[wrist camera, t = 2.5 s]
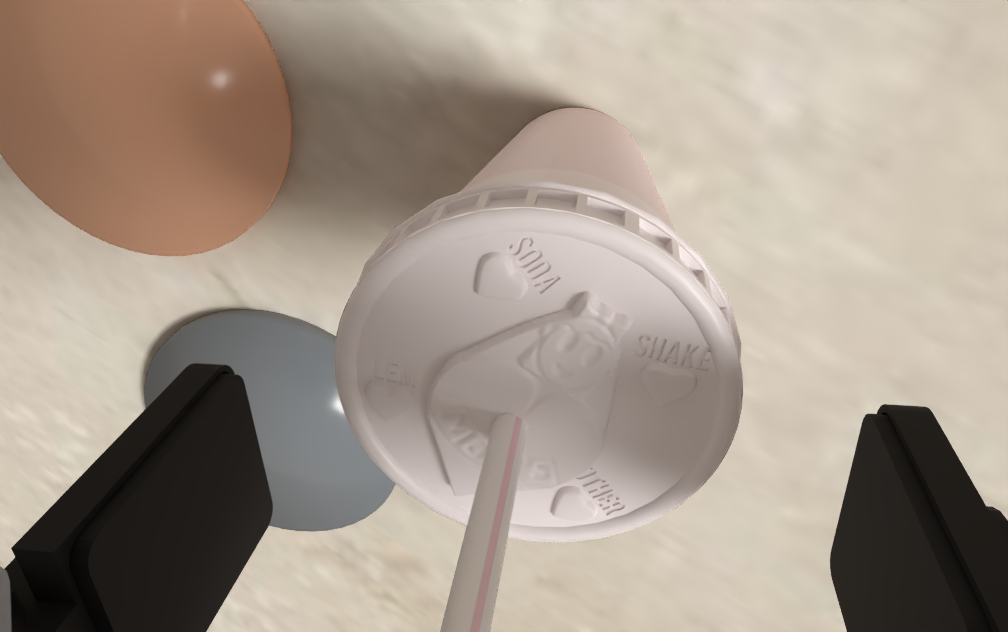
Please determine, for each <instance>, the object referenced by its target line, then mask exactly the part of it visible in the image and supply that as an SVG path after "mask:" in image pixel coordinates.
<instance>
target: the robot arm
mask: <svg viewBox="0 0 1008 632" xmlns="http://www.w3.org/2000/svg"><path fill="white" fill-rule="evenodd" d="M272 512H273V502H272V497H271V493H270V489H269V485H268V480H267V476H266V472H265V468H264V463H263V459H262V455H261V451H260V446H259V442H258V438H257V434H256V430H255V425H254V421H253V417H252V413H251V408H250V404H249V400H248V396H247V391H246V387H245V383H244V380H243V378H242V377H241V376H240V375H236V374H235V373H234V371H233V369H232V368H231V367H230V366H228V365H220V364H203V363H193V364H190V365H189V366H187V367H186V368H185V369H184V370H183V371H182V372H181V373H180V374H179V375H178V376H177V377H176V378H175V379H174V380H173V381H172V382H171V383H170V385H169V386H168V387H167V388H166V389H165V390H164V391H163V392H162V393H161V394H160V395H159V396H158V397H157V398H156V399H155V400H154V401H153V402H152V403H151V404H150V405H149V406H148V407H147V408H146V409H145V410H144V411H143V412H142V414H141V415H140V416H139V417H138V418H137V419H136V420H135V421H134V422H133V423H132V424H131V425H130V426H129V427H128V428H127V429H126V430H125V431H124V432H123V433H122V434H121V435H120V436H119V437H118V438H117V439H116V440H115V441H114V443H113V444H112V445H111V446H110V447H109V448H108V449H107V450H106V451H105V452H104V453H103V454H102V455H101V456H100V457H99V458H98V459H97V460H96V461H95V462H94V463H93V464H92V465H91V466H90V467H89V468H88V469H87V470H86V472H85V473H84V474H83V475H82V476H81V477H80V478H79V479H78V480H77V481H76V482H75V483H74V484H73V485H72V486H71V487H70V488H69V489H68V490H67V491H66V492H65V493H64V494H63V495H62V496H61V497H60V498H59V499H58V500H57V502H56V503H55V504H54V505H53V506H52V507H51V508H50V509H49V510H48V511H47V512H46V513H45V514H44V515H43V516H42V517H41V518H40V519H39V520H38V521H37V522H36V523H35V524H34V525H33V526H32V527H31V528H30V529H29V531H28V532H27V533H26V534H25V535H24V536H23V537H22V538H21V539H20V540H19V541H18V542H17V543H16V544H15V545H14V546H13V547H12V548H11V549H12V551H13V553H14V555H15V558H14V560H13V561H12V562H11V563H10V564H9V565H8V566H7V567H6V568H5V569H3V568H2V567H0V632H206V631H207V629H208V628H209V626H210V624H211V622H212V621H213V619H214V617H215V616H216V614H217V612H218V611H219V609H220V607H221V606H222V604H223V602H224V600H225V599H226V597H227V595H228V594H229V592H230V590H231V589H232V587H233V585H234V583H235V582H236V580H237V578H238V577H239V575H240V573H241V572H242V570H243V568H244V567H245V565H246V563H247V561H248V560H249V558H250V556H251V555H252V553H253V551H254V550H255V548H256V546H257V544H258V543H259V541H260V539H261V538H262V536H263V534H264V533H265V531H266V529H267V528H268V526H269V524H270V521H271V518H272ZM830 569H831V576H832V580H833V584H834V587H835V591H836V594H837V598H838V601H839V605H840V608H841V612H842V615H843V619H844V622H845V626H846V629H847V632H1008V521H1007V519H1006V518H1005V517H1004V515H1003V514H1002V513H1001V512H1000V511H999V510H997V509H995V508H994V507H988V506H986V505H985V504H984V502H983V500H982V498H981V497H980V495H979V493H978V491H977V490H976V488H975V486H974V484H973V483H972V481H971V479H970V477H969V476H968V474H967V472H966V470H965V469H964V467H963V465H962V463H961V462H960V460H959V458H958V456H957V455H956V453H955V451H954V449H953V448H952V446H951V444H950V442H949V441H948V439H947V437H946V435H945V434H944V432H943V430H942V428H941V427H940V425H939V423H938V421H937V420H936V418H935V416H934V415H933V413H932V412H931V410H930V409H929V408H927V407H920V406H903V405H886V404H884V405H882V406H881V407H880V408H879V410H878V412H877V414H867V415H865V417H864V419H863V422H862V426H861V430H860V434H859V438H858V442H857V446H856V451H855V455H854V459H853V463H852V467H851V471H850V475H849V479H848V484H847V488H846V492H845V496H844V500H843V504H842V508H841V512H840V517H839V521H838V525H837V529H836V533H835V537H834V541H833V546H832V550H831V556H830Z"/></svg>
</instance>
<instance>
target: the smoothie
mask: <svg viewBox="0 0 1008 632" xmlns="http://www.w3.org/2000/svg"><path fill="white" fill-rule="evenodd" d="M740 356H741V341H740V337H739V333H738V330H737V326H736V322H735V318H734V315H733V311H732V307H731V303H730V300H729V297H728V295H727V294H726V292H725V291H724V289H723V288H722V286H721V284H720V283H719V281H718V280H717V278H716V277H715V275H714V273H713V272H712V270H711V269H710V267H709V266H708V264H707V263H706V261H705V259H704V258H703V256H702V255H701V253H699V252H698V251H697V250H696V249H695V248H694V247H692V246H691V245H690V244H689V243H688V242H687V241H686V240H684V239H683V238H682V237H681V236H680V235H679V234H678V233H676V231H675V229H674V227H673V224H672V222H671V220H670V217H669V215H668V213H667V211H666V208H665V206H664V204H663V201H662V199H661V197H660V195H659V192H658V190H657V188H656V185H655V183H654V181H653V179H652V176H651V174H650V172H649V169H648V167H647V165H646V163H645V160H644V158H643V156H642V153H641V151H640V149H639V147H638V145H637V143H636V141H635V140H634V138H633V137H632V135H631V134H630V133H629V132H628V131H627V129H625V128H624V127H623V126H622V125H621V124H620V123H619V122H617V121H616V120H614V119H613V118H611V117H609V116H607V115H605V114H603V113H601V112H598V111H595V110H591V109H586V108H563V109H558V110H553V111H551V112H548V113H545V114H543V115H541V116H539V117H537V118H536V119H534V120H533V121H531V122H530V123H529V124H527V125H526V126H525V127H524V128H523V129H522V130H521V131H520V132H519V133H518V134H517V135H516V136H515V137H514V138H513V139H512V140H511V141H510V142H509V143H508V144H507V145H506V146H505V147H504V148H503V149H502V150H501V151H500V152H499V153H498V154H497V155H496V156H495V157H494V158H493V159H492V160H491V161H490V162H489V163H488V164H487V165H486V166H485V167H484V168H483V169H482V170H481V171H480V172H479V173H478V174H477V175H476V176H475V177H474V178H473V179H472V180H471V181H470V182H469V183H468V184H467V185H466V186H465V187H464V188H463V189H462V190H461V191H460V192H459V193H456V194H452V195H449V196H446V197H443V198H440V199H437V200H436V201H434V202H433V203H431V204H430V205H428V206H427V207H425V208H424V209H422V210H421V211H419V212H418V213H416V214H415V215H413V216H412V217H410V218H408V219H407V220H405V221H404V222H402V223H401V224H399V225H398V226H396V227H395V228H394V229H393V231H392V232H391V233H390V234H389V236H388V237H387V238H386V239H385V240H384V242H383V243H382V244H381V245H380V246H379V248H378V249H377V250H376V251H375V253H374V254H373V255H372V256H371V257H370V259H369V260H368V261H367V262H366V264H365V266H364V269H363V271H362V274H361V276H360V279H359V281H358V284H357V286H356V287H355V289H354V290H353V292H352V294H351V296H350V298H349V300H348V302H347V304H346V306H345V308H344V311H343V314H342V317H341V319H340V322H339V326H338V331H337V335H336V341H335V351H334V371H335V379H336V386H337V390H338V394H339V398H340V402H341V405H342V408H343V410H344V413H345V416H346V418H347V420H348V422H349V424H350V427H351V429H352V431H353V432H354V434H355V436H356V437H357V439H358V441H359V442H360V444H361V446H362V447H363V448H364V450H365V451H366V452H367V454H368V455H369V456H370V458H371V459H372V460H373V461H374V462H375V464H376V465H377V466H378V467H379V468H380V469H381V470H382V472H384V473H385V474H386V475H387V476H388V477H389V478H390V479H391V480H392V481H393V482H394V483H395V484H396V485H398V486H399V487H400V488H401V489H403V490H404V491H405V492H406V493H407V494H409V495H410V496H412V497H413V498H415V499H416V500H418V501H419V502H420V503H422V504H424V505H425V506H427V507H429V508H430V509H432V510H433V511H435V512H437V513H439V514H441V515H443V516H445V517H447V518H449V519H452V520H454V521H456V522H458V523H461V524H463V525H465V526H467V528H466V532H465V536H464V540H463V543H462V547H461V551H460V555H459V559H458V563H457V567H456V571H455V575H454V579H453V583H452V587H451V591H450V595H449V599H448V603H447V606H446V610H445V614H444V618H443V622H442V626H441V630H440V632H490V628H491V623H492V618H493V612H494V607H495V602H496V596H497V591H498V586H499V581H500V575H501V570H502V565H503V559H504V554H505V549H506V544H507V538H514V539H520V540H527V541H533V542H574V541H584V540H591V539H598V538H604V537H608V536H612V535H616V534H620V533H623V532H626V531H629V530H632V529H635V528H638V527H640V526H642V525H645V524H647V523H649V522H652V521H654V520H656V519H658V518H659V517H661V516H663V515H665V514H667V513H669V512H670V511H672V510H673V509H675V508H676V507H678V506H679V505H681V504H682V503H683V502H685V501H686V500H687V499H688V498H690V497H691V496H692V495H693V494H694V493H695V492H696V491H697V490H699V489H700V488H701V487H702V486H703V485H704V484H705V483H706V481H707V480H708V479H709V478H710V477H711V475H712V474H713V473H714V472H715V471H716V469H717V468H718V466H719V465H720V463H721V462H722V460H723V458H724V457H725V455H726V453H727V451H728V449H729V447H730V445H731V443H732V441H733V438H734V435H735V432H736V430H737V427H738V423H739V418H740V414H741V408H742V397H743V381H742V370H741V364H740Z"/></svg>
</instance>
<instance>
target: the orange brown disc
mask: <svg viewBox="0 0 1008 632" xmlns="http://www.w3.org/2000/svg"><path fill="white" fill-rule="evenodd" d="M291 145H292V119H291V110H290V101H289V97H288V92H287V88H286V84H285V80H284V76H283V74H282V71H281V68H280V65H279V63H278V60H277V57H276V54H275V52H274V50H273V48H272V46H271V44H270V42H269V40H268V38H267V36H266V34H265V32H264V30H263V29H262V27H261V26H260V24H259V22H258V21H257V19H256V18H255V16H254V14H253V13H252V11H251V10H250V8H249V7H248V6H247V5H246V3H245V2H244V1H243V0H0V154H1V155H2V156H3V158H4V159H5V161H6V162H7V164H8V165H9V166H10V167H11V168H12V170H13V171H14V172H15V173H16V175H17V176H18V177H19V178H20V179H21V181H22V182H23V183H24V184H25V185H26V186H27V187H28V188H29V189H30V190H31V191H32V192H33V193H34V194H35V195H36V196H37V197H38V198H39V199H41V200H42V201H43V202H44V203H45V204H46V205H48V206H49V207H50V208H51V209H52V210H53V211H55V212H56V213H57V214H59V215H60V216H62V217H63V218H64V219H66V220H67V221H69V222H70V223H72V224H73V225H75V226H76V227H78V228H80V229H82V230H83V231H85V232H87V233H89V234H90V235H92V236H94V237H97V238H99V239H101V240H103V241H105V242H108V243H110V244H113V245H116V246H118V247H121V248H124V249H127V250H131V251H135V252H140V253H145V254H150V255H160V256H186V255H192V254H198V253H203V252H206V251H209V250H213V249H216V248H219V247H221V246H223V245H225V244H227V243H229V242H231V241H233V240H234V239H236V238H237V237H238V236H240V235H241V234H242V233H244V232H245V231H247V230H248V229H249V228H250V227H251V226H252V225H253V224H254V223H255V222H256V221H257V220H258V219H259V218H260V217H261V216H262V215H263V214H264V213H265V212H266V211H267V209H268V208H269V206H270V205H271V203H272V202H273V200H274V199H275V198H276V196H277V193H278V191H279V189H280V187H281V185H282V183H283V181H284V177H285V174H286V171H287V168H288V164H289V158H290V152H291Z"/></svg>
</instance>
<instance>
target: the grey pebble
mask: <svg viewBox="0 0 1008 632" xmlns="http://www.w3.org/2000/svg"><path fill="white" fill-rule="evenodd" d="M335 341H336V336H334V335H332V334H330V333H329V332H327V331H325V330H323V329H321V328H319V327H317V326H315V325H312V324H310V323H308V322H305V321H303V320H300V319H297V318H294V317H291V316H287V315H284V314H279V313H274V312H269V311H262V310H249V309H243V310H228V311H222V312H216V313H212V314H209V315H206V316H203V317H200V318H198V319H196V320H194V321H192V322H190V323H188V324H186V325H185V326H183V327H182V328H181V329H179V330H178V331H177V332H176V333H174V334H173V335H172V336H171V337H170V338H169V339H168V340H167V341H166V342H165V343H164V344H163V345H162V347H161V348H160V349H159V350H158V351H157V353H156V355H155V356H154V358H153V360H152V361H151V364H150V367H149V369H148V372H147V377H146V382H145V403H146V408H147V407H148V406H149V405H150V404H151V403H152V402H153V401H154V400H155V399H156V398H157V397H158V396H159V395H160V394H161V393H162V392H163V391H164V390H165V389H166V388H167V387H168V386H169V385H170V383H171V382H172V381H173V380H174V379H175V378H176V377H177V376H178V375H179V374H180V373H181V372H182V371H183V370H184V369H185V368H186V367H187V366H189V365H190V364H193V363H203V364H220V365H228V366H230V367H231V368H232V369H233V371H234V373H235V374H236V375H240V376H241V377H242V378H243V380H244V383H245V387H246V391H247V396H248V400H249V404H250V408H251V413H252V417H253V421H254V425H255V430H256V434H257V438H258V442H259V446H260V451H261V455H262V459H263V463H264V468H265V472H266V476H267V480H268V485H269V489H270V493H271V497H272V502H273V512H272V518H271V521H270V524H269V526H273V527H278V528H282V529H288V530H296V531H325V530H332V529H337V528H342V527H345V526H348V525H351V524H354V523H356V522H358V521H360V520H362V519H364V518H366V517H367V516H369V515H370V514H372V513H373V512H375V511H376V510H377V509H378V508H379V507H380V506H381V505H382V504H383V503H384V502H385V501H386V499H387V498H388V496H389V495H390V494H391V492H392V490H393V488H394V486H395V483H394V482H393V481H392V480H391V479H390V478H389V477H388V476H387V475H386V474H385V473H384V472H382V470H381V469H380V468H379V467H378V466H377V465H376V464H375V462H374V461H373V460H372V459H371V458H370V456H369V455H368V454H367V452H366V451H365V450H364V448H363V447H362V446H361V444H360V442H359V441H358V439H357V437H356V436H355V434H354V432H353V431H352V429H351V427H350V424H349V422H348V420H347V418H346V416H345V413H344V410H343V408H342V405H341V402H340V398H339V394H338V390H337V386H336V379H335V371H334V351H335Z"/></svg>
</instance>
